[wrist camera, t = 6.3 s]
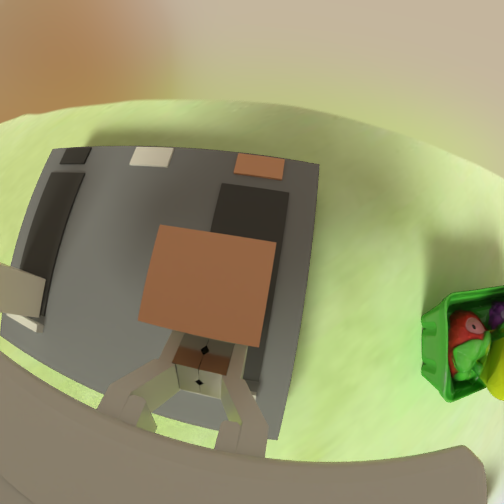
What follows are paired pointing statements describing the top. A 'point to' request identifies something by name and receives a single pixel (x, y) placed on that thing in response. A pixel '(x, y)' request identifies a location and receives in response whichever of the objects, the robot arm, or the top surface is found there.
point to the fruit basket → (465, 344)
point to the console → (139, 255)
